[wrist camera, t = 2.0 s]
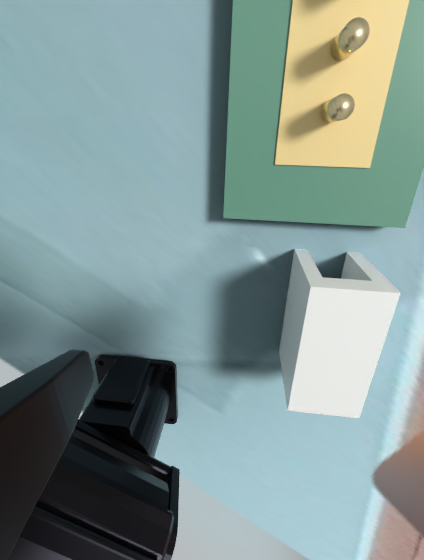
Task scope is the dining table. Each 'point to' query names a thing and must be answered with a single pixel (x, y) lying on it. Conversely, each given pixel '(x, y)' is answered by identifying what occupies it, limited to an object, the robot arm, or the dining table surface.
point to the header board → (325, 111)
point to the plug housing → (333, 334)
